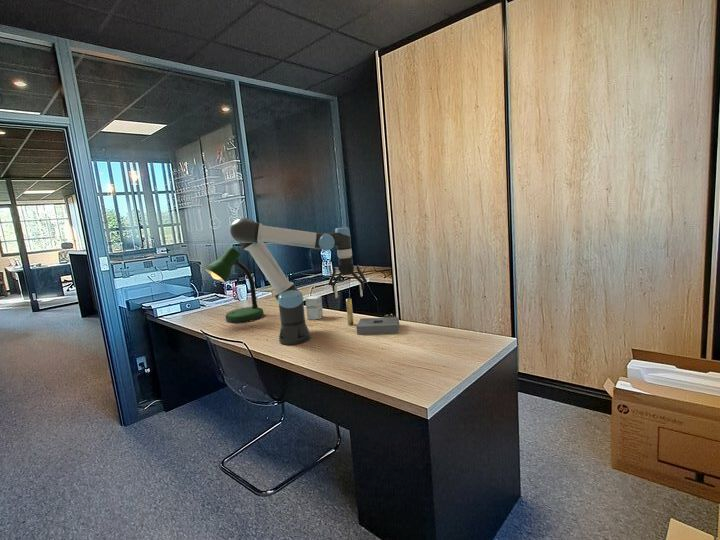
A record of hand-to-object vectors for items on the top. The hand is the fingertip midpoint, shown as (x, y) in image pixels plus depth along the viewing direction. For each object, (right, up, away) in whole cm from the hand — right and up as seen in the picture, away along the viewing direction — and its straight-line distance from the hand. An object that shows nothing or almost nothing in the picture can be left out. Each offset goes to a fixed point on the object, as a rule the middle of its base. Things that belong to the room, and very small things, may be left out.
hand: (349, 296), depth 198 cm
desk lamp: (-69, -16, +33) cm, 78 cm away
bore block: (+15, -16, -10) cm, 24 cm away
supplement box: (-21, -14, +21) cm, 33 cm away
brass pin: (+1, -15, +2) cm, 15 cm away
